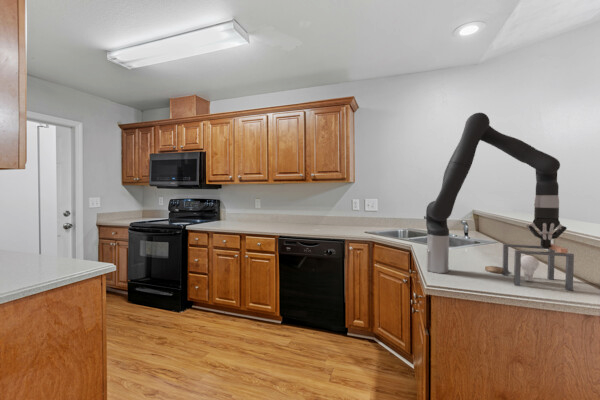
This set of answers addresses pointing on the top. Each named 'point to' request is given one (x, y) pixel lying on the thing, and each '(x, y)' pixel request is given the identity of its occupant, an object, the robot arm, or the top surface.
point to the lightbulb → (529, 266)
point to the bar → (558, 248)
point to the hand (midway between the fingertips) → (545, 248)
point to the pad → (494, 269)
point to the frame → (550, 254)
